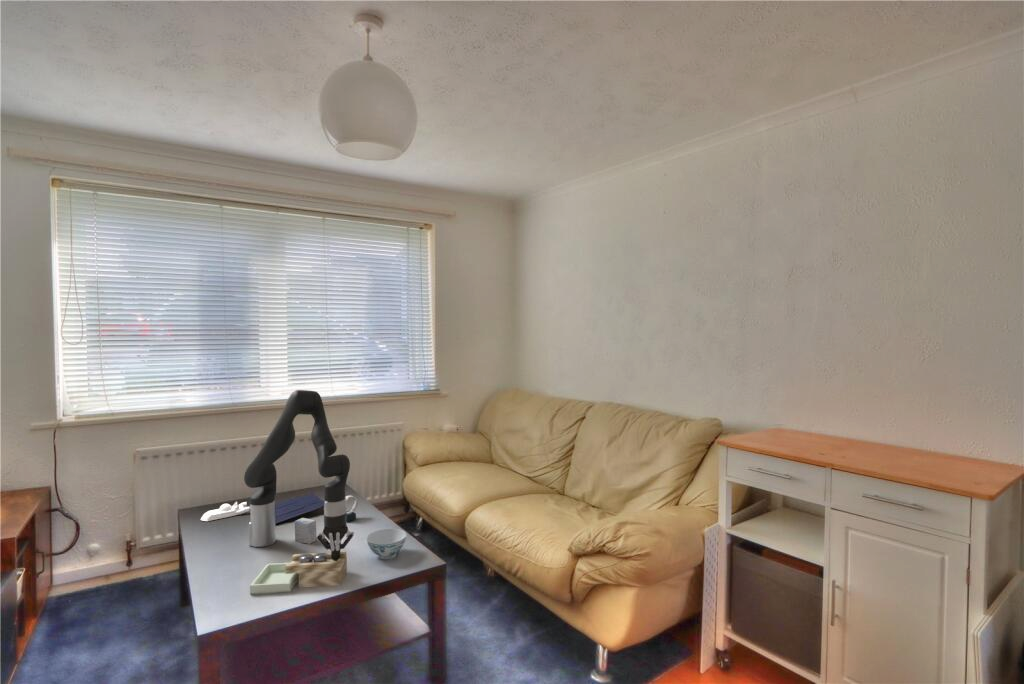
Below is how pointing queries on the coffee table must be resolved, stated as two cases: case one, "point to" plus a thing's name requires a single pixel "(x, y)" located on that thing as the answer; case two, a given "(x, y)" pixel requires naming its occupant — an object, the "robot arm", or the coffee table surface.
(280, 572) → the tray
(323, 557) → the puck
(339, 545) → the robot arm
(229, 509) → the plane toy
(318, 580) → the slotted board
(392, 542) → the chinaware
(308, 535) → the medicine box
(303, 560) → the puck
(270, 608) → the coffee table surface
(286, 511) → the blue flat panel
